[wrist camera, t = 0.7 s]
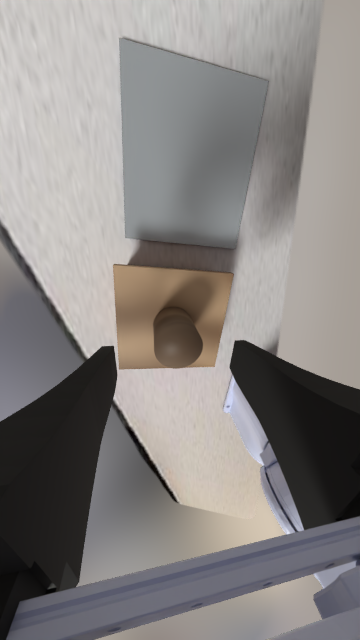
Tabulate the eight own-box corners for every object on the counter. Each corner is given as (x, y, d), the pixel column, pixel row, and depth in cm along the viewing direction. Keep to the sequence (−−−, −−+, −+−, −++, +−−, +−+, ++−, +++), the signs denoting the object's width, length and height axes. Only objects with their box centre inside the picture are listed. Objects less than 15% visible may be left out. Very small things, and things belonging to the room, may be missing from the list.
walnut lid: (212, 362, 20) (229, 395, 16) (120, 364, 18) (111, 402, 14) (230, 272, 16) (259, 284, 12) (114, 263, 14) (99, 274, 10)
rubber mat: (233, 248, 19) (235, 248, 18) (125, 237, 17) (125, 237, 16) (265, 85, 14) (268, 81, 14) (120, 43, 12) (119, 37, 12)
